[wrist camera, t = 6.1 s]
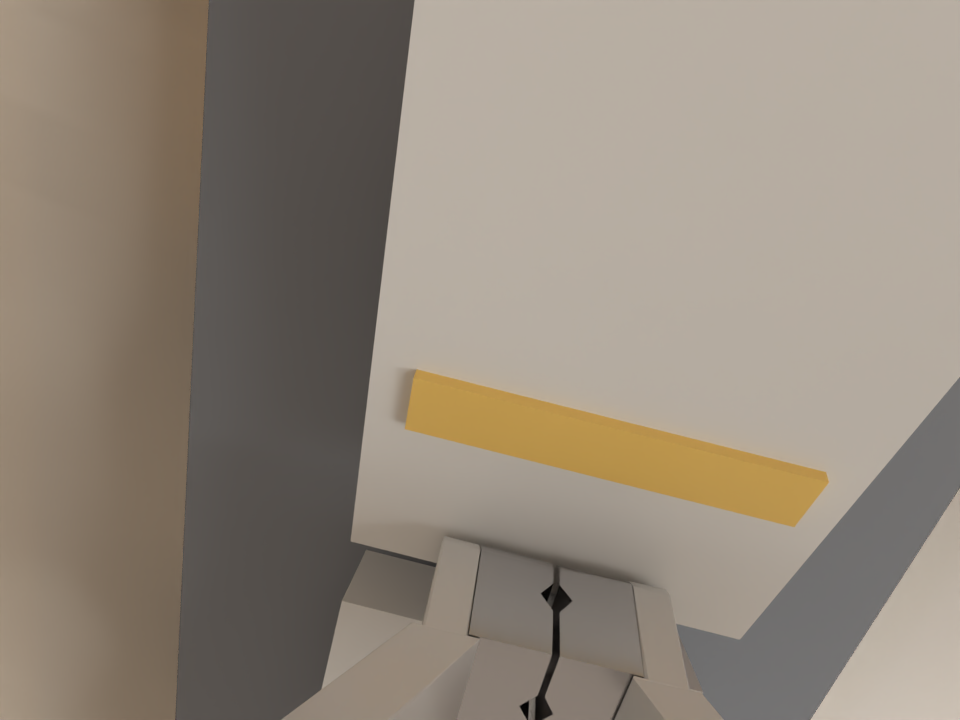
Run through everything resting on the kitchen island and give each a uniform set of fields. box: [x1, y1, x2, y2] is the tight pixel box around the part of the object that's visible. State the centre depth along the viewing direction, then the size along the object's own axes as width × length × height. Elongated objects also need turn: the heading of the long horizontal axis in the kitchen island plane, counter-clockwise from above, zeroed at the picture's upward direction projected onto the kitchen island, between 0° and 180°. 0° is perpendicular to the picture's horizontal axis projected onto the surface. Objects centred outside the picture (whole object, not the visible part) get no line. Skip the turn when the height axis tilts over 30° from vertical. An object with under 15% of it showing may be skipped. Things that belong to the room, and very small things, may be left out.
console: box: [175, 0, 960, 720], centre depth 16 cm, size 32×13×6 cm, turn 167°
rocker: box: [351, 0, 960, 640], centre depth 8 cm, size 9×6×2 cm, turn 168°
